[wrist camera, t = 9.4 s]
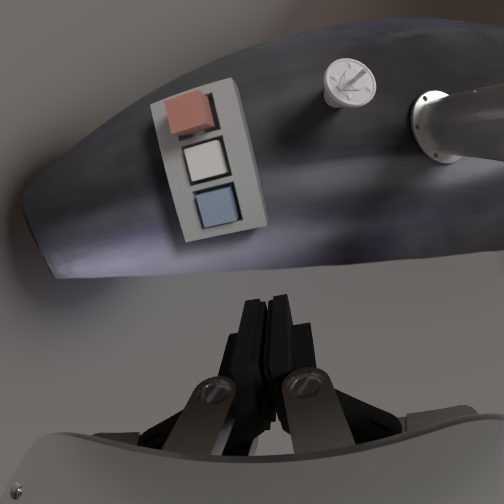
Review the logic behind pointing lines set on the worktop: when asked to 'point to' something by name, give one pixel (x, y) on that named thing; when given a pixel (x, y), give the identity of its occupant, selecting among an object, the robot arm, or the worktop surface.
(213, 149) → the white key
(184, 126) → the red key
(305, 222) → the worktop surface
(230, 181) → the keypad housing
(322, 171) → the worktop surface
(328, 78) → the smoothie
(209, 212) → the blue key
